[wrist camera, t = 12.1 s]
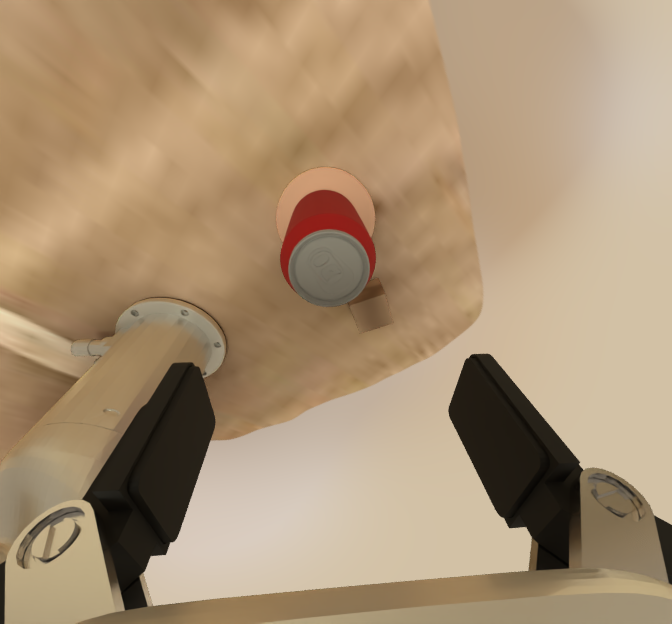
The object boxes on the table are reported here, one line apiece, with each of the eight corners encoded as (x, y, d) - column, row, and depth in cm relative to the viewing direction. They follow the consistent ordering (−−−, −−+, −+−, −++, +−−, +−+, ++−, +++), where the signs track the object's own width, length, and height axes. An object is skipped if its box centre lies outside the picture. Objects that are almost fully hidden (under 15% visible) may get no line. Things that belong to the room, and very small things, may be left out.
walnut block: (355, 314, 35) (359, 333, 32) (345, 288, 33) (349, 305, 30) (386, 304, 35) (393, 323, 32) (378, 277, 33) (385, 293, 29)
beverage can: (318, 267, 31) (318, 331, 21) (277, 215, 28) (254, 261, 18) (370, 231, 29) (399, 282, 19) (332, 172, 26) (343, 195, 16)
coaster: (280, 266, 31) (280, 268, 31) (272, 165, 26) (271, 166, 25) (369, 266, 32) (370, 268, 31) (379, 168, 27) (380, 168, 26)
